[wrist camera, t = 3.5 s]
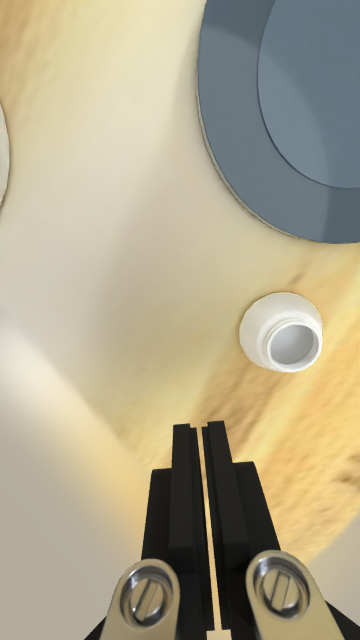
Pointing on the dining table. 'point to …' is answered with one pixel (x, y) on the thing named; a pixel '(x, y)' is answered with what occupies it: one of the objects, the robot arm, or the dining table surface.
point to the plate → (285, 111)
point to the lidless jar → (282, 332)
